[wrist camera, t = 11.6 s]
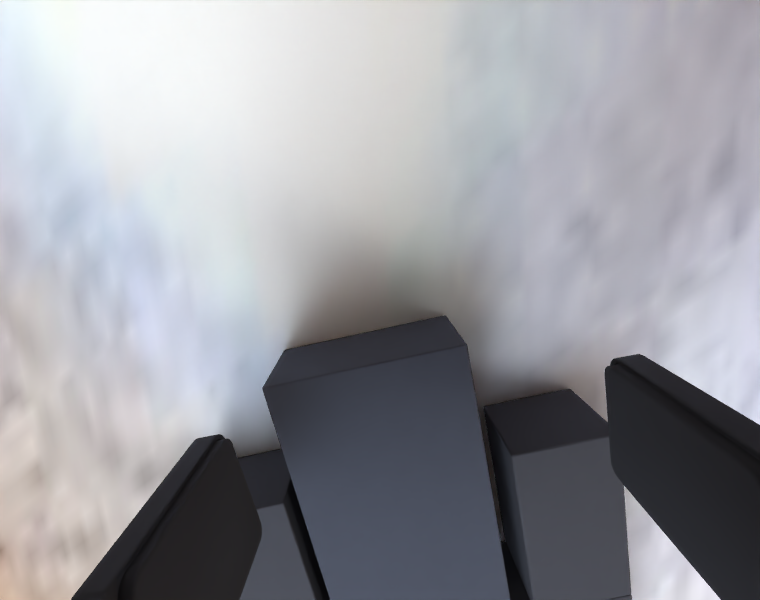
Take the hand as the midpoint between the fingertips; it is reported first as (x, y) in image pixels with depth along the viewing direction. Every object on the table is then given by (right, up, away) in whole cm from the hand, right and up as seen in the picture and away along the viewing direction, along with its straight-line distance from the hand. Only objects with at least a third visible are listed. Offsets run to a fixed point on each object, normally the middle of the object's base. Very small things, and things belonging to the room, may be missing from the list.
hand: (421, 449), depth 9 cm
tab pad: (-1, -2, +6) cm, 6 cm away
